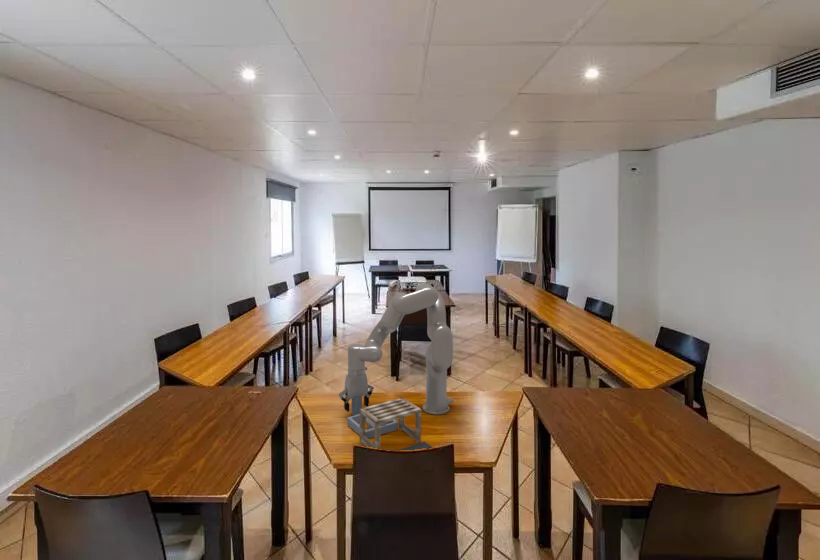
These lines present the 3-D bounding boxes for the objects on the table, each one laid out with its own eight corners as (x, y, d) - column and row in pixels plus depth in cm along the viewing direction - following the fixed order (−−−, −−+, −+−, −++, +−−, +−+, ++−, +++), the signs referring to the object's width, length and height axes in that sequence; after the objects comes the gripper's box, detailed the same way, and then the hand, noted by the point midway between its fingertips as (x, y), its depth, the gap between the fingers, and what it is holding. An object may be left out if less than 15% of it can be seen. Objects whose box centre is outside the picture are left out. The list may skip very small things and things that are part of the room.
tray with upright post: (370, 409, 198) (370, 390, 197) (398, 429, 178) (398, 409, 177) (339, 417, 189) (338, 398, 188) (364, 439, 169) (364, 418, 168)
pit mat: (424, 442, 168) (424, 441, 168) (431, 447, 164) (431, 446, 164) (399, 450, 161) (399, 449, 161) (406, 456, 157) (406, 455, 157)
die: (375, 438, 172) (390, 417, 173) (359, 424, 175) (373, 404, 176) (380, 436, 180) (394, 416, 181) (364, 423, 183) (378, 403, 184)
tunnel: (402, 428, 180) (402, 397, 178) (420, 441, 169) (421, 409, 167) (359, 441, 168) (359, 408, 167) (376, 456, 157) (376, 421, 156)
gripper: (369, 366, 198) (369, 401, 200) (335, 372, 188) (335, 409, 190) (377, 370, 192) (377, 406, 194) (342, 377, 182) (342, 415, 184)
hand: (356, 408), depth 192 cm, fingers open, 9 cm apart
